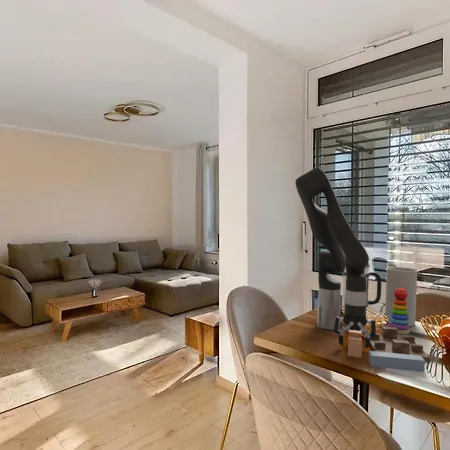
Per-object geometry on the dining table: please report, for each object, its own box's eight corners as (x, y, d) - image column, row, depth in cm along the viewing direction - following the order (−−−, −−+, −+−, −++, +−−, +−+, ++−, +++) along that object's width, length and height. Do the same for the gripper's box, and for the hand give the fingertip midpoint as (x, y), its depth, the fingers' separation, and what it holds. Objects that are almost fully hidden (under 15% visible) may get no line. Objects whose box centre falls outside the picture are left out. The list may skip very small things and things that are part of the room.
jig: (376, 356, 125) (377, 341, 125) (365, 337, 145) (365, 324, 144) (429, 361, 122) (430, 346, 122) (410, 340, 141) (411, 327, 141)
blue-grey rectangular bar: (371, 367, 117) (371, 355, 117) (368, 362, 121) (369, 350, 121) (424, 373, 114) (425, 360, 113) (420, 367, 118) (420, 355, 117)
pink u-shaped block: (361, 358, 124) (362, 343, 124) (347, 356, 125) (348, 341, 125) (360, 344, 137) (361, 330, 137) (348, 343, 139) (348, 329, 138)
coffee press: (362, 320, 167) (364, 256, 166) (332, 312, 179) (334, 253, 178) (380, 314, 178) (383, 254, 177) (351, 307, 190) (353, 251, 189)
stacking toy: (413, 335, 148) (415, 290, 147) (393, 335, 148) (395, 290, 147) (404, 329, 155) (405, 286, 155) (385, 328, 156) (387, 286, 155)
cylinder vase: (396, 327, 157) (398, 271, 156) (379, 319, 169) (381, 267, 168) (421, 326, 160) (423, 271, 159) (402, 318, 172) (404, 266, 171)
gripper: (336, 303, 128) (334, 348, 129) (378, 306, 125) (376, 352, 126) (334, 298, 136) (332, 340, 136) (373, 301, 133) (372, 344, 133)
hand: (353, 346), depth 131 cm, fingers open, 8 cm apart
